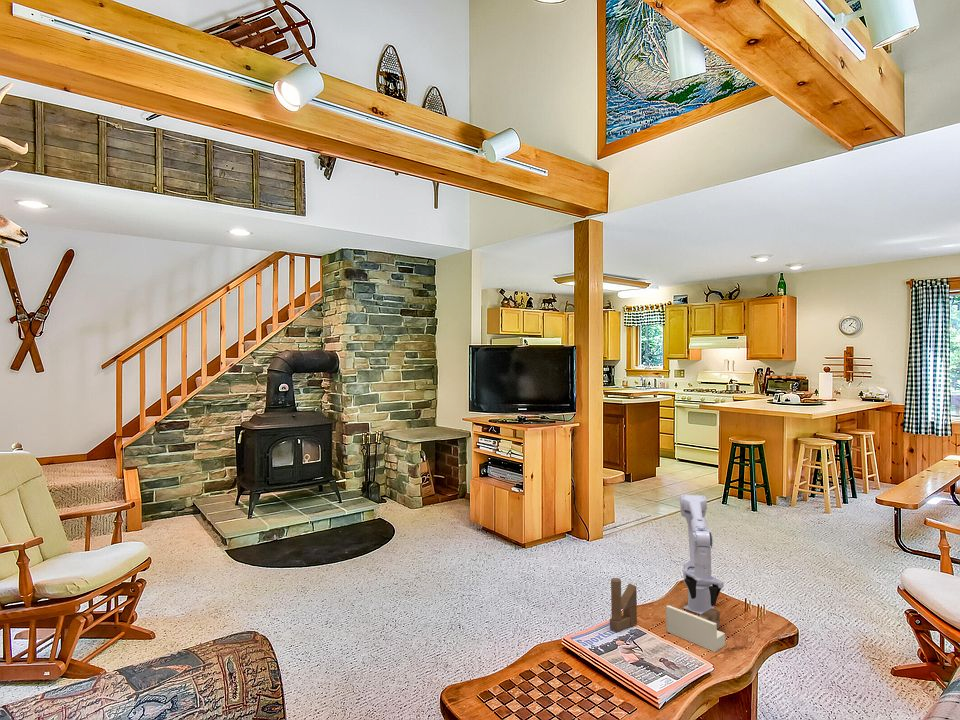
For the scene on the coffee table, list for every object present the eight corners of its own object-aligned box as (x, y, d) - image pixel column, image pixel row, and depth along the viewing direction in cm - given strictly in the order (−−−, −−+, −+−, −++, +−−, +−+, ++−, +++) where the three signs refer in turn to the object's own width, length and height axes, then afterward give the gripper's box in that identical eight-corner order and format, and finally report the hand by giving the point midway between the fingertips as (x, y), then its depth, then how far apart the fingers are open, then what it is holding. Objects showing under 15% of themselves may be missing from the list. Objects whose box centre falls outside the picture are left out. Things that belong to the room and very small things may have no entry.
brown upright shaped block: (637, 624, 195) (636, 575, 195) (616, 632, 189) (616, 582, 190) (629, 620, 198) (628, 572, 198) (609, 628, 192) (608, 579, 193)
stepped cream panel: (677, 625, 194) (676, 600, 194) (725, 645, 180) (724, 618, 180) (666, 631, 190) (666, 606, 190) (714, 652, 176) (714, 624, 176)
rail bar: (711, 624, 195) (711, 608, 195) (720, 627, 193) (719, 611, 193) (691, 636, 186) (691, 619, 186) (700, 640, 184) (700, 622, 184)
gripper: (678, 561, 196) (679, 597, 196) (716, 572, 185) (717, 611, 184) (688, 556, 200) (689, 592, 200) (726, 567, 189) (727, 606, 189)
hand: (703, 601), depth 193 cm, fingers open, 7 cm apart
